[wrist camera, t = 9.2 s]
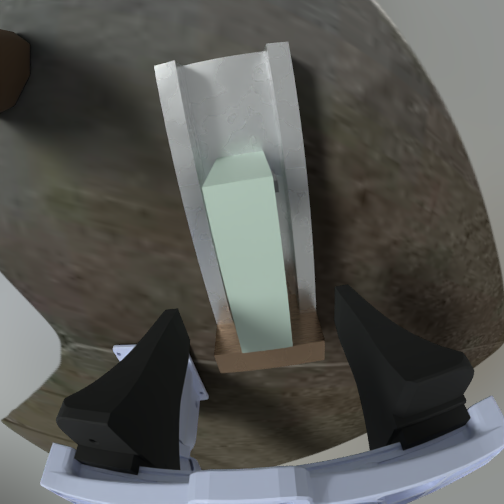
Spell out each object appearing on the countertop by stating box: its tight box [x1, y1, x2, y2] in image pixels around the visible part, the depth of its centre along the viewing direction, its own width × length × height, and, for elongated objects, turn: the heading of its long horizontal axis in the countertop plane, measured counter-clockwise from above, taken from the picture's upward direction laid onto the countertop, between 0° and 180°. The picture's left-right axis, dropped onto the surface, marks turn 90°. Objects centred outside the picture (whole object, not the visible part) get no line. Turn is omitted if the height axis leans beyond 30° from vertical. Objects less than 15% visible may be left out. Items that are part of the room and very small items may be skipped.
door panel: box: [202, 151, 293, 353], centre depth 18 cm, size 10×3×7 cm, turn 9°
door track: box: [154, 42, 325, 373], centre depth 18 cm, size 20×7×6 cm, turn 9°
